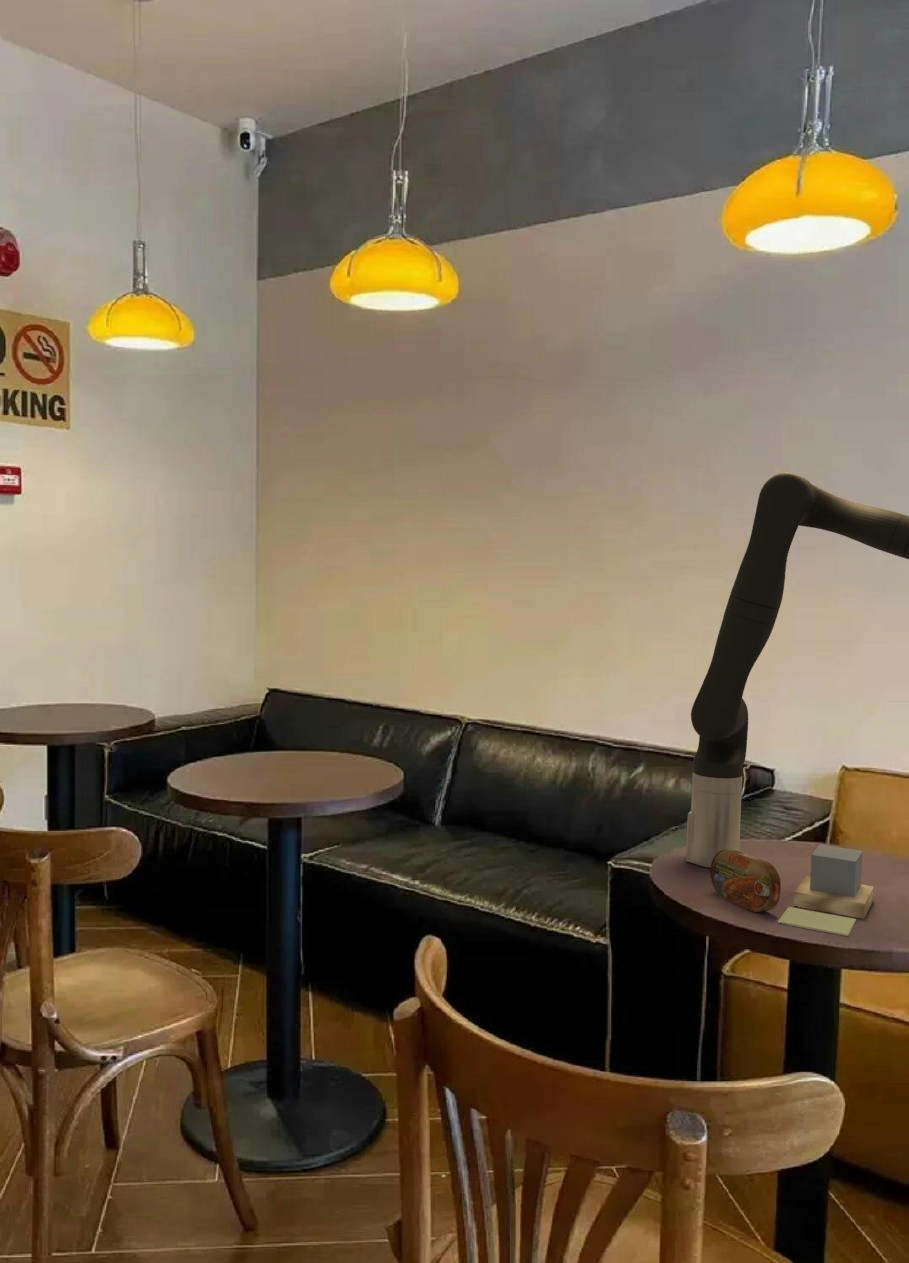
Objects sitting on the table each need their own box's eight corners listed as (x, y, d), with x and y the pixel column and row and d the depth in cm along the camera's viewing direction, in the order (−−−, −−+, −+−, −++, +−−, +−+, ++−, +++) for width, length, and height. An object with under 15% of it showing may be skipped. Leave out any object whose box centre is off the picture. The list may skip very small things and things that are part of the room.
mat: (777, 923, 160) (777, 921, 160) (788, 908, 167) (788, 907, 167) (848, 936, 154) (848, 934, 154) (856, 920, 162) (856, 919, 162)
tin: (707, 892, 175) (710, 844, 175) (722, 890, 176) (724, 842, 176) (767, 919, 162) (770, 867, 161) (783, 917, 163) (785, 866, 162)
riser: (793, 906, 168) (794, 891, 168) (806, 889, 178) (807, 875, 178) (864, 919, 163) (865, 903, 163) (873, 901, 172) (873, 886, 172)
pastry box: (809, 890, 169) (811, 854, 169) (818, 878, 176) (820, 844, 176) (854, 897, 166) (855, 861, 166) (861, 885, 173) (862, 850, 173)
